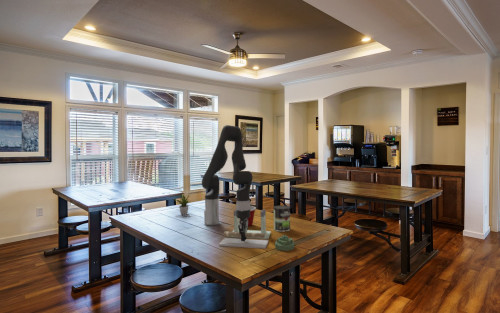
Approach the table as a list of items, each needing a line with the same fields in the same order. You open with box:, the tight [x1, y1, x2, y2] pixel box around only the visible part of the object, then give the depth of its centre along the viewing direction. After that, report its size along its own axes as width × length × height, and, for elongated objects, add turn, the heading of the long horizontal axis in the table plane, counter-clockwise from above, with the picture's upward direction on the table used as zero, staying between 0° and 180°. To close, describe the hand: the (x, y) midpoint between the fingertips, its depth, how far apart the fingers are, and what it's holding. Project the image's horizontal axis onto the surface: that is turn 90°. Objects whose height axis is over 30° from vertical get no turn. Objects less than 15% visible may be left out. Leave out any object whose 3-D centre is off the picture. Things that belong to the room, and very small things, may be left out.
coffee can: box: [273, 204, 291, 233], centre depth 186 cm, size 10×10×14 cm
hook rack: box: [228, 209, 272, 240], centre depth 175 cm, size 23×10×15 cm, turn 77°
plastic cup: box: [247, 205, 257, 227], centre depth 197 cm, size 11×11×12 cm
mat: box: [218, 237, 269, 250], centre depth 160 cm, size 25×10×1 cm, turn 77°
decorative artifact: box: [274, 234, 295, 252], centre depth 154 cm, size 10×7×10 cm
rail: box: [223, 231, 264, 239], centre depth 160 cm, size 22×2×2 cm, turn 77°
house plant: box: [173, 193, 192, 215], centre depth 233 cm, size 14×14×16 cm
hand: (243, 240), depth 160 cm, fingers closed on rail, 2 cm apart
